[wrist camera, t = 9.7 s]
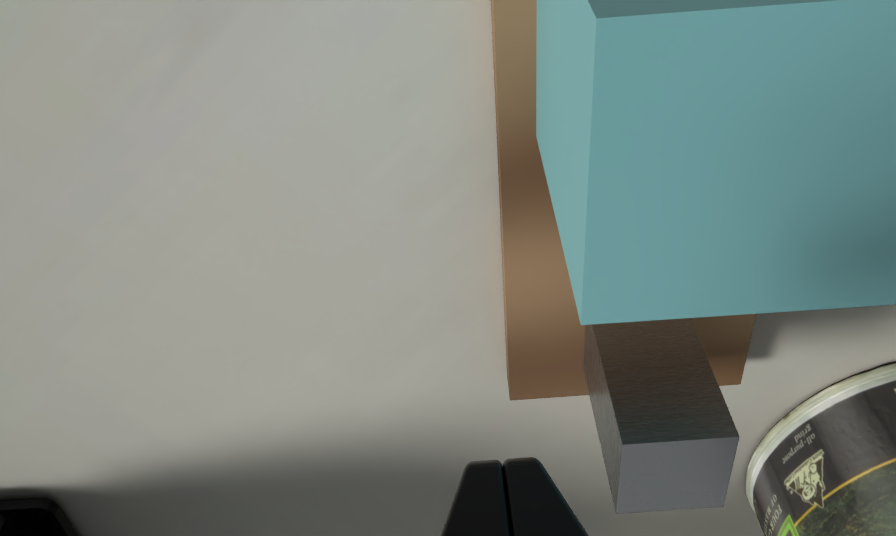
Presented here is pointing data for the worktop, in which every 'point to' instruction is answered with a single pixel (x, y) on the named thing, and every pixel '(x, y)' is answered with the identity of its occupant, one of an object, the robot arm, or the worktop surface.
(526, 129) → the walnut strip
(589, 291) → the turquoise upright block
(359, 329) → the worktop surface
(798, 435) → the coffee can
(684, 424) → the dark metal post
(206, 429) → the worktop surface
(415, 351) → the worktop surface
